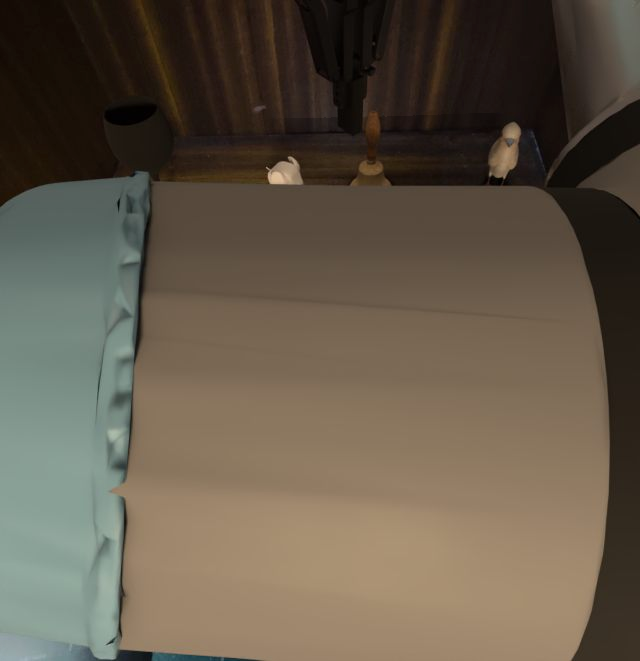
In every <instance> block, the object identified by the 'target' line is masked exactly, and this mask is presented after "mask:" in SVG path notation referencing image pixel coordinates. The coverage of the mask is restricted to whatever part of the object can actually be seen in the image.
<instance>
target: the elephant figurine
mask: <svg viewBox="0 0 640 661" xmlns="http://www.w3.org/2000/svg"><path fill="white" fill-rule="evenodd" d="M287 160H288V161H289V162H288V161H285V160H284V161H283V160H282V161H279V162H277V163H275V165H274V166H273V167H272V168H268V166H266V167H265V168H266V169H267V170H268V172H267V180H268V183H269V184H295V185H305V184H304V181H303V178H302V175H301V172H300V171H301V166H300V164H299V162H298V160H296V158H294V157H293V156H290V155H289V156H287Z"/></svg>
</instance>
